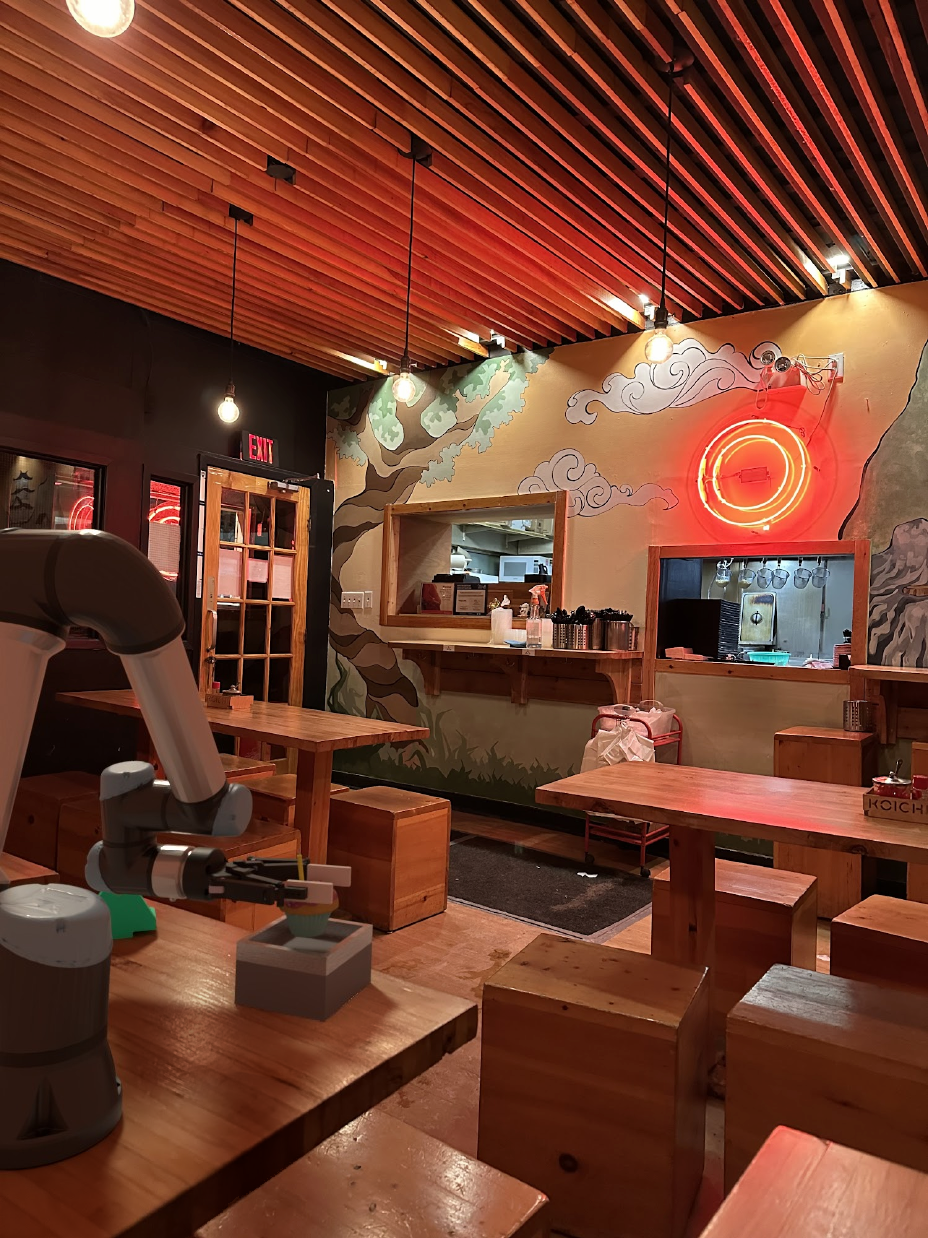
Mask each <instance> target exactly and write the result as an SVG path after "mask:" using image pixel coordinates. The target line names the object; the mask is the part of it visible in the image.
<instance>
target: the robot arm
mask: <svg viewBox="0 0 928 1238" xmlns="http://www.w3.org/2000/svg"><path fill="white" fill-rule="evenodd" d="M73 627H74V628H78V627H79V628H86V627H88V628H91V629H92V630H95V631H96V632H98V634H100V635H101V636H102V638H103V640H104V644H105V646H106V648H107V650H108V651H109V652H110V653H112V654H113V655H116V656H118V657H119V658H120V660H121V663H122V666H123V668H124V670H125V673H126V675H127V679H128V681H129V683H130V686H131V689H132V691H133V693H134V695H135V696H134V697H135V699H136V702H137V704H138V706H139V707H138V708H139V709H140V712H141V714H142V717H143V720H144V723H145V725H146V727H147V730H148V733H149V735H150V737H151V740H152V743H153V745H154V749H155V751H156V753H157V756H158V759H159V761H160V763H161V766H162V769H163V772H164V774H165V776H166V779H160V778H159V779H158V778H157V775H156V773H155V767H154V766H153V764H152V763H149V762H145V761H141V760H140V761H139V760H134V761H133V760H131V761H130V760H129V761H123V762H118V763H114V764H112V765H110V766H108V767H106V768H105V769H103V771H102V773H101V775H100V794H99V802H100V813H101V829H102V831H101V832H102V840H100V841H98V842H96V843H95V844H94V845H93V846H92V847H91V849H89V852H88V854H87V856H86V864H85V866H84V877H85V880H86V883H87V884H88V886H89V887H90V888H91V889H92V890H95V891H98V892H101V891H103V892H109V893H113V894H117V895H120V894H122V895H124V894H129V895H141V896H145V897H150V896H151V897H155V898H156V897H157V898H168V899H169V902H176V900H177V899H180V900H185V899H188V900H190V901H199V902H213V901H215V900H219V899H220V900H221V899H224V900H232V901H238V902H244V903H251V904H258V905H263V906H273V905H276V906H275V907H276V908H279V907H283V906H284V898H285V899H286V901H296V902H308V903H320V904H332V903H333V889H334V886H335V887H336V886H337V887H346V888H347V887H348V888H349V887H351V884H352V881H351V880H352V877H351V876H352V867H351V866H345V865H343V866H342V865H330V864H318V863H311V858H310V857H305V858H302V864H303V874H304V881H301V880H299V871H298V861H297V858H287V857H286V858H285V857H284V858H283V857H282V858H280V857H259V856H255V855H249V856H247V857H246V860H245V859H244V858H243V859H241V858H240V859H233V861H230V862H229V861H228V859H227V858H226V854H225V852H224V851H223V850H222V849H220V848H218V847H208V846H207V847H205V846H198V847H195V846H194V845H183V844H182V845H181V844H180V845H179V844H167V843H166V844H165V843H164V844H163V843H158V840H157V839H158V838H157V837H158V833H167V834H168V833H169V834H179V835H192V836H201V837H211V838H217V837H218V838H225V837H227V838H228V837H229V838H230V837H231V838H235V837H239V836H241V835H242V834H243V833H244V832H245V831H246V829H247V827H248V825H249V823H250V820H251V818H252V812H253V796H252V792H251V790H250V789H249V788H248V787H246V785H243V784H237V782H232V783H231V782H229V780H228V778H227V774H226V772H225V769H224V766H223V763H222V760H221V757H220V754H219V751H218V748H217V745H216V742H215V738H214V735H213V732H212V729H211V726H210V723H209V721H208V717H207V714H206V710H205V708H204V704H203V700H202V698H201V695H200V691H199V690H198V685H197V684H196V683H197V682H196V680H195V677H194V673H193V670H192V667H191V664H190V661H189V658H188V655H187V652H186V649H185V646H184V643H183V639H182V637H181V636H182V635H183V634H184V632H185V630H186V621H185V618H184V616H183V613H182V609H181V606H180V604H179V601H178V599H177V597H176V595H175V593H174V591H173V589H172V588H171V586H170V585H169V583H168V582H167V580H166V579H165V577H164V576H163V574H162V573H161V571H160V570H159V569H158V568H157V567H156V566H155V564H154V563H153V562H152V561H151V560H150V559H149V558H148V557H147V556H146V555H145V554H144V553H143V552H142V551H140V550H139V549H138V548H137V547H136V546H134V545H133V544H132V543H130V542H128V540H127V541H126V540H125V539H124V538H121V537H120V536H117V535H115V534H112V533H110V532H107V531H103V530H100V529H91V528H89V529H88V528H85V529H78V530H77V529H32V528H31V529H29V528H28V529H25V528H23V527H8V528H4V529H0V860H1V857H2V854H3V850H4V847H5V841H6V837H7V834H8V833H7V832H8V829H9V825H10V822H11V821H10V820H11V817H12V812H13V807H14V804H15V799H16V796H17V792H18V791H17V790H18V787H19V783H20V779H21V774H22V770H23V766H24V762H25V757H26V754H27V749H28V745H29V741H30V736H31V734H32V733H31V732H32V729H33V724H34V720H35V715H36V713H37V708H38V702H39V698H40V695H41V691H42V687H43V681H44V678H45V674H46V671H47V670H46V669H47V666H48V661H49V660H50V658H51V657H52V656H54V655H56V654H58V653H59V652H61V651H63V650H64V649H65V648H66V646H67V641H68V637H69V633H70V629H71V628H73ZM7 875H8V874H6V873H5V871H4V870H3V868H2V867H1V865H0V1169H2V1170H7V1169H9V1170H10V1169H11V1170H12V1169H25V1168H33V1167H37V1166H43V1165H48V1164H51V1163H52V1164H53V1163H54V1162H59V1161H61V1160H64V1159H68V1158H70V1157H72V1156H75V1155H78V1154H79V1153H81V1152H83V1151H85V1150H87V1149H89V1148H91V1147H93V1146H94V1145H96V1144H97V1143H99V1142H100V1141H102V1140H103V1139H104V1138H106V1137H107V1136H108V1135H109V1134H110V1133H111V1132H112V1131H113V1130H114V1128H115V1127H116V1126H117V1125H118V1123H119V1122H120V1120H121V1117H122V1115H123V1096H124V1095H123V1092H124V1090H123V1085H122V1082H121V1079H120V1077H119V1076H118V1075H117V1072H116V1067H115V1062H114V1058H113V1054H112V1050H111V1047H110V1044H109V1041H108V1023H109V1022H108V1021H109V1001H110V984H111V983H110V981H111V978H110V977H111V963H112V961H111V960H112V950H113V946H114V939H113V937H112V933H111V914H110V909H109V908H108V906H107V903H106V902H105V901H104V900H103V899H102V898H101V897H100V896H99V894H97V893H95V892H93V891H91V890H89V889H86V888H83V887H79V886H74V885H70V884H63V883H48V884H39V883H30V884H22V885H17V886H14V887H10V885H11V879H10V878H9V877H8V876H7ZM308 880H309V881H308ZM311 880H313V881H314V880H316V881H320V880H321V882H313V881H311ZM285 884H286V885H285ZM275 902H276V903H275Z"/></svg>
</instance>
